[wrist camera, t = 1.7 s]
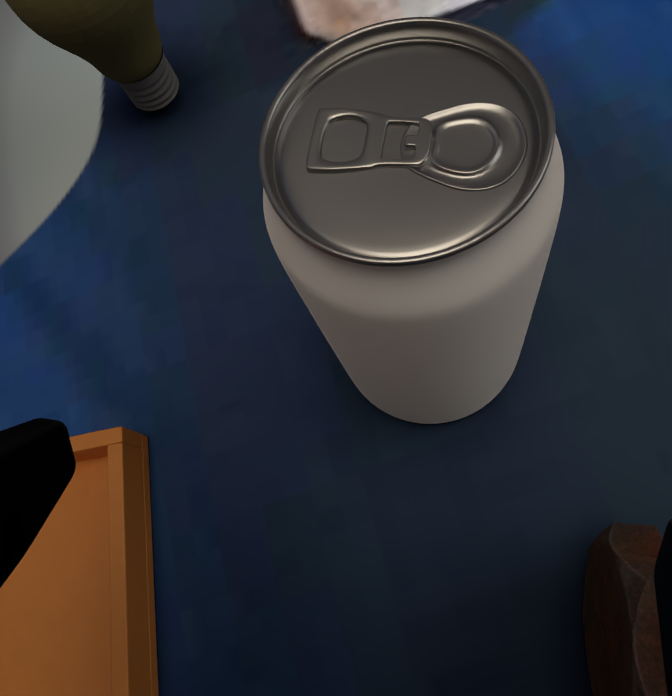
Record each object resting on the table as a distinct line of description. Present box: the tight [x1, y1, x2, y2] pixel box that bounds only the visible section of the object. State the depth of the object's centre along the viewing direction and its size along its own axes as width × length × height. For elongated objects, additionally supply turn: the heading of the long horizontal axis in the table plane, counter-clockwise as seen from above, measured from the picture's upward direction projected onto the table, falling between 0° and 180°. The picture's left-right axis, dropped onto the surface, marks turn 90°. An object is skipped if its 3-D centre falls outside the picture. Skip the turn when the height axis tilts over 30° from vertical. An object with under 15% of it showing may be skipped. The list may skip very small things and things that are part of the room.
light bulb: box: [5, 0, 179, 111], centre depth 24 cm, size 6×6×10 cm
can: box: [259, 17, 564, 424], centre depth 17 cm, size 6×6×12 cm
